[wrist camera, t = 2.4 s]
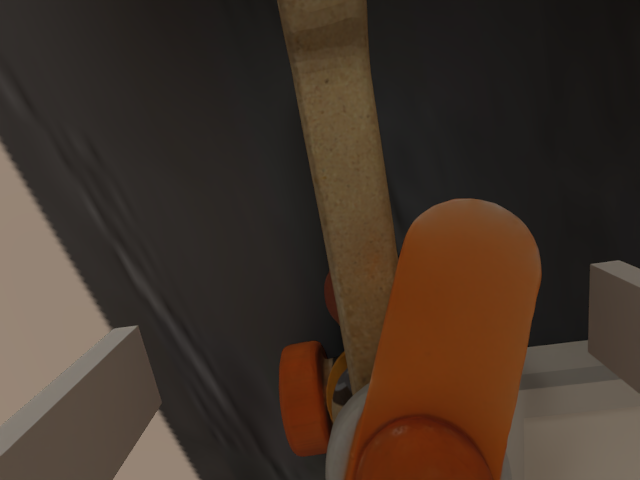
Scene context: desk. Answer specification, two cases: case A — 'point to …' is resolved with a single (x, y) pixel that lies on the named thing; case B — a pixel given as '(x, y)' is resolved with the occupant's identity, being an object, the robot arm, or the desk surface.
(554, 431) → the plate
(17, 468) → the robot arm
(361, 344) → the toy helicopter
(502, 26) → the desk surface
